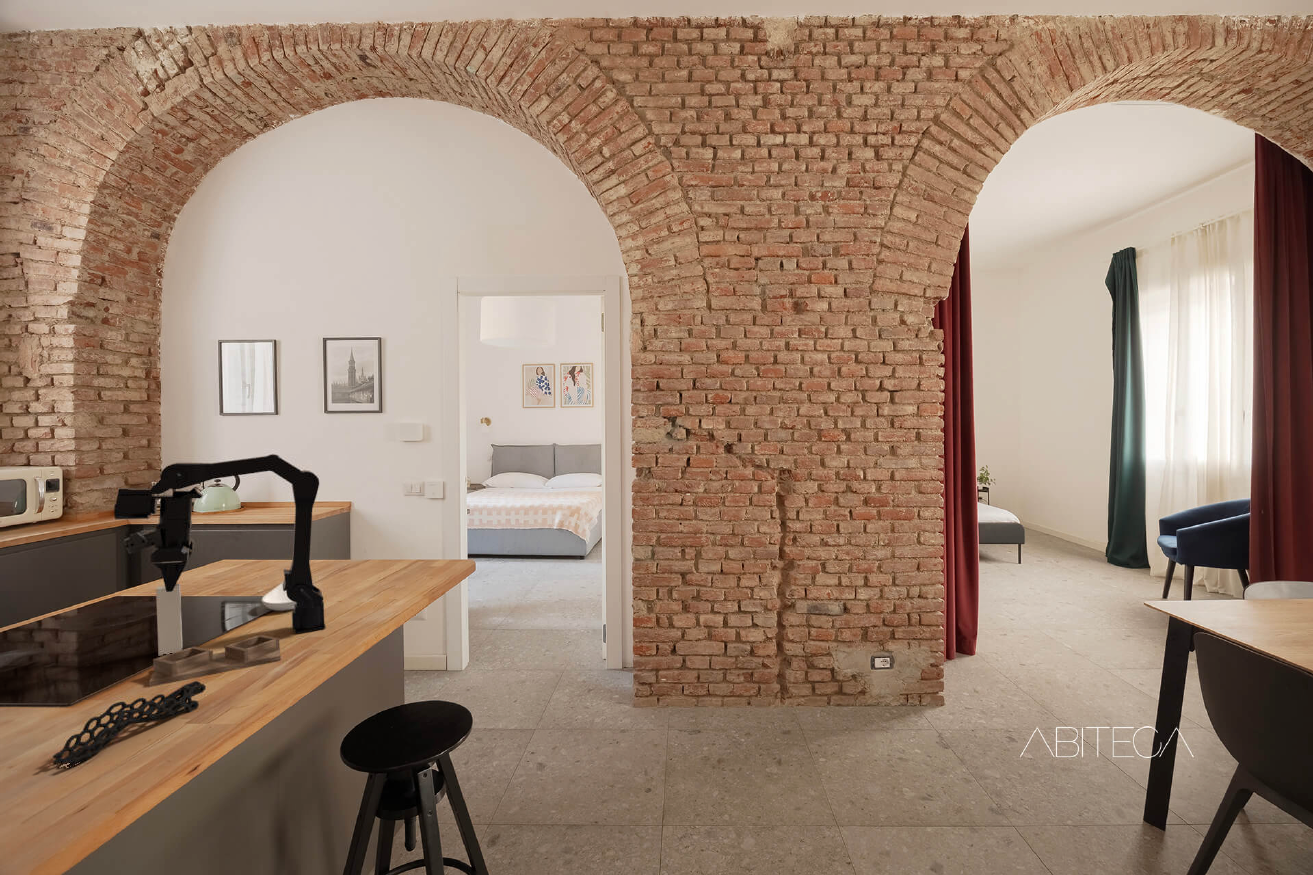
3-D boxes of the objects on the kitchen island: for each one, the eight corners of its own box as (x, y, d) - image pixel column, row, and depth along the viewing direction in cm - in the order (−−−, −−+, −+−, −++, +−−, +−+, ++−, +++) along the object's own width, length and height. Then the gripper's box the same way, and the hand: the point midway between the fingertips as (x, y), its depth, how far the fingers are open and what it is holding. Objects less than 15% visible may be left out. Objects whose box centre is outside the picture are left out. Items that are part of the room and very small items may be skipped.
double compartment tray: (278, 646, 140) (278, 631, 139) (280, 660, 131) (280, 644, 131) (156, 669, 127) (155, 652, 127) (149, 686, 119) (149, 668, 119)
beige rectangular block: (182, 647, 139) (180, 583, 139) (181, 651, 137) (178, 586, 137) (160, 651, 137) (157, 586, 137) (158, 655, 135) (156, 589, 134)
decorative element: (74, 773, 90) (73, 734, 90) (48, 769, 91) (46, 731, 91) (212, 704, 112) (211, 672, 112) (189, 701, 113) (189, 670, 113)
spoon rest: (304, 612, 165) (303, 586, 165) (255, 617, 162) (254, 590, 161) (326, 589, 188) (325, 567, 187) (283, 593, 184) (282, 570, 184)
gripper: (135, 514, 140) (131, 582, 140) (121, 524, 124) (116, 600, 124) (195, 513, 146) (192, 577, 146) (189, 522, 131) (185, 594, 130)
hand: (171, 587), depth 136 cm, fingers open, 9 cm apart
